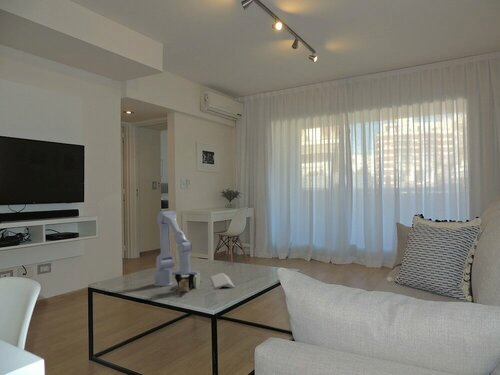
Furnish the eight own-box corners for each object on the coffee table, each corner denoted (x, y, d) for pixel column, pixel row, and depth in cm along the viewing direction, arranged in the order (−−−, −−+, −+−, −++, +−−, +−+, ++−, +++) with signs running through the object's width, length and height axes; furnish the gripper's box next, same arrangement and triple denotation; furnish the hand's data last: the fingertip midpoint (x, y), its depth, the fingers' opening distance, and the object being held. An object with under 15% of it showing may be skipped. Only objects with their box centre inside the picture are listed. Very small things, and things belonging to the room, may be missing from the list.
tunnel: (179, 288, 202) (178, 276, 203) (183, 284, 212) (183, 272, 212) (196, 288, 201) (196, 276, 202) (200, 284, 211) (200, 272, 212)
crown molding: (209, 278, 228) (209, 273, 228) (228, 277, 231) (228, 272, 231) (214, 290, 200) (214, 283, 200) (235, 288, 202) (235, 282, 202)
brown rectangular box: (179, 291, 194) (178, 282, 194) (185, 285, 206) (185, 277, 206) (188, 291, 194) (188, 282, 194) (193, 286, 206) (193, 277, 206)
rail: (175, 297, 184) (175, 297, 184) (190, 283, 214) (190, 283, 214) (181, 297, 184) (181, 297, 184) (195, 283, 214) (195, 283, 214)
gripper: (169, 264, 194) (169, 289, 193) (195, 264, 192) (195, 290, 192) (173, 262, 201) (173, 286, 200) (198, 262, 199) (199, 286, 199)
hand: (184, 288), depth 196 cm, fingers closed on brown rectangular box, 5 cm apart
